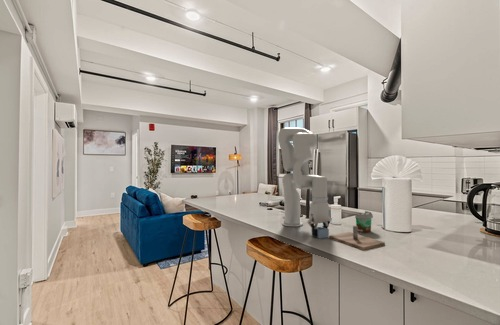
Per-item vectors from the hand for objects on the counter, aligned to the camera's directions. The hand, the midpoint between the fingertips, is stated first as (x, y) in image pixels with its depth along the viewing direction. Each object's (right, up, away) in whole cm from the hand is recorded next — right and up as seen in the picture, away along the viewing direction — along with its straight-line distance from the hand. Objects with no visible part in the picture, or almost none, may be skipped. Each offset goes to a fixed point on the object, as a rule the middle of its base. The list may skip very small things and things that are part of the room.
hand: (320, 234), depth 126 cm
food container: (+27, -1, +8) cm, 29 cm away
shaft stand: (+14, 0, -9) cm, 17 cm away
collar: (0, -1, 0) cm, 1 cm away
